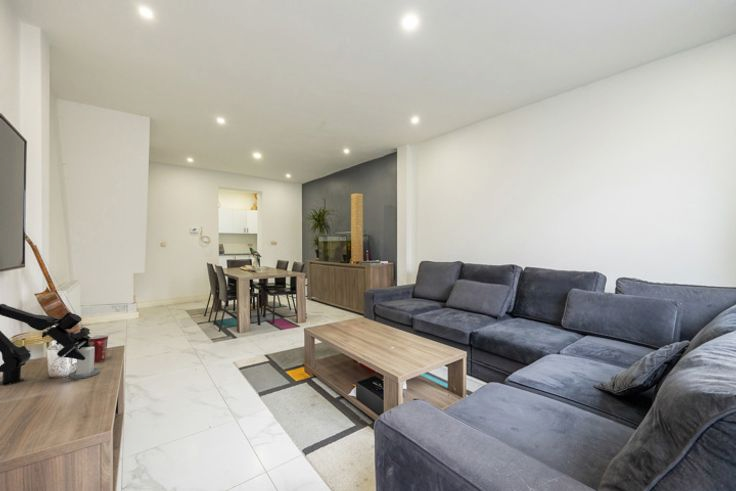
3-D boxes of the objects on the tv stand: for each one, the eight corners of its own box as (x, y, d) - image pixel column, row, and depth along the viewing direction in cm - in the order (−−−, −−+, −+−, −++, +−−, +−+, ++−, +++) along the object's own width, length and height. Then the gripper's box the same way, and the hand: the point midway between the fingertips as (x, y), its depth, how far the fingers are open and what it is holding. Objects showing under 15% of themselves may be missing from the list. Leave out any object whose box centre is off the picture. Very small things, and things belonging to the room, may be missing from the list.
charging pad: (65, 376, 151) (65, 374, 151) (92, 369, 162) (92, 366, 162) (77, 380, 147) (77, 378, 147) (104, 372, 157) (104, 370, 157)
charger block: (76, 374, 151) (77, 350, 151) (81, 371, 156) (82, 347, 156) (88, 373, 153) (89, 349, 153) (93, 370, 158) (94, 346, 158)
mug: (86, 359, 175) (87, 336, 175) (106, 356, 181) (107, 333, 182) (87, 365, 166) (88, 341, 166) (109, 362, 172) (110, 337, 173)
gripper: (66, 328, 145) (95, 349, 149) (86, 320, 162) (111, 339, 166) (44, 346, 142) (73, 367, 146) (66, 336, 159) (92, 355, 163)
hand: (89, 356), depth 155 cm, fingers open, 9 cm apart
